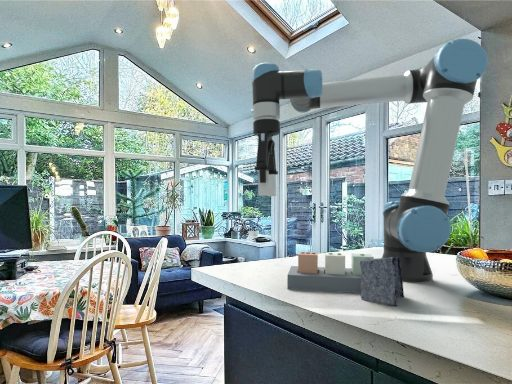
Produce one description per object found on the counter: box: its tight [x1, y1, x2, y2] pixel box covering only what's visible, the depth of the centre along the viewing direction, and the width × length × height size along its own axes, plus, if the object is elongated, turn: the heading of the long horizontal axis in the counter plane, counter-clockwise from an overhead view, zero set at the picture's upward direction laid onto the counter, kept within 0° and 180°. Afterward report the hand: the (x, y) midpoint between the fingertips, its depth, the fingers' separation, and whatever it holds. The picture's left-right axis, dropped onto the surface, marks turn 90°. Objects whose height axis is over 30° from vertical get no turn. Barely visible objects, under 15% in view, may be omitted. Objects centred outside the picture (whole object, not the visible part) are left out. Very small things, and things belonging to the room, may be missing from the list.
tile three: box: [297, 251, 319, 274], centre depth 93 cm, size 5×5×5 cm
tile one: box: [351, 253, 375, 275], centre depth 91 cm, size 5×5×5 cm
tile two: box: [324, 252, 346, 275], centre depth 92 cm, size 5×5×5 cm
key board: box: [286, 265, 362, 294], centre depth 92 cm, size 24×12×4 cm, turn 80°
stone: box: [360, 257, 405, 307], centre depth 80 cm, size 12×10×10 cm
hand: (267, 196), depth 97 cm, fingers open, 13 cm apart
